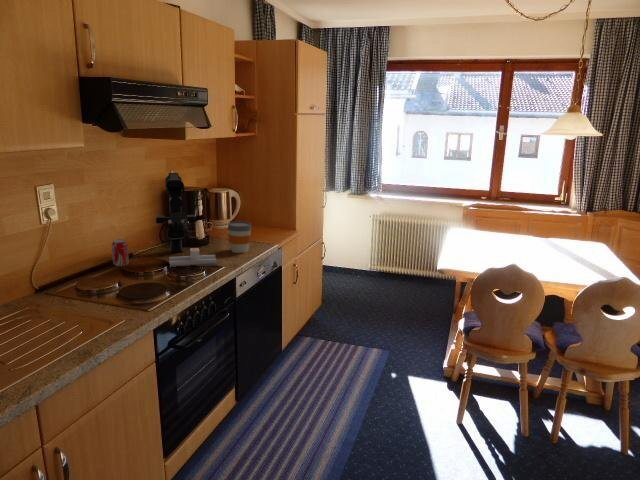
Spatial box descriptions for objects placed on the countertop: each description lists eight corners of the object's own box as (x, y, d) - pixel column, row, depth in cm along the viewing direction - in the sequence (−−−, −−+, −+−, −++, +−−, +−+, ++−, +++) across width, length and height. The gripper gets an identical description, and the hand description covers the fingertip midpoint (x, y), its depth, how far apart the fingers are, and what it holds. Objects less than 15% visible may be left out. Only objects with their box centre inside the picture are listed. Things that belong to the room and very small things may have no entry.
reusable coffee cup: (235, 255, 248) (235, 227, 245) (223, 249, 258) (223, 222, 254) (255, 251, 256) (255, 224, 253) (243, 246, 266) (243, 220, 262)
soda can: (110, 264, 225) (108, 240, 222) (125, 261, 230) (123, 238, 227) (116, 268, 220) (114, 243, 217) (131, 265, 225) (130, 241, 222)
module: (190, 260, 232) (190, 248, 231) (198, 259, 233) (198, 247, 232) (191, 263, 228) (190, 250, 226) (199, 262, 229) (199, 250, 227)
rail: (169, 262, 232) (169, 256, 231) (214, 259, 239) (214, 254, 238) (169, 268, 222) (169, 262, 222) (217, 265, 229) (216, 259, 229)
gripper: (155, 208, 220) (156, 240, 224) (196, 207, 226) (197, 239, 230) (155, 204, 231) (156, 235, 234) (194, 203, 236) (195, 233, 240)
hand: (176, 235), depth 234 cm, fingers closed
